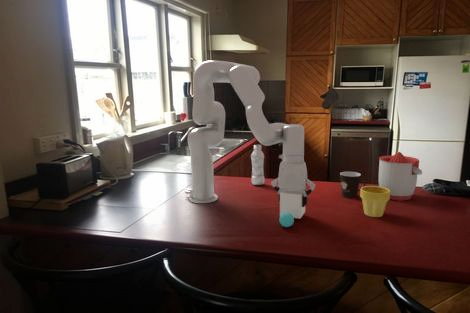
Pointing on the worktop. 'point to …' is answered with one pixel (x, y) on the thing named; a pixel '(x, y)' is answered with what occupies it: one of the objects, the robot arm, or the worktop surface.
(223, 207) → the worktop surface
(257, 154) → the plastic bottle
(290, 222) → the ball
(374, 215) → the plant pot
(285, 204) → the pale grey cube
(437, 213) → the worktop surface
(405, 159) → the citrus juicer
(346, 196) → the coffee mug
